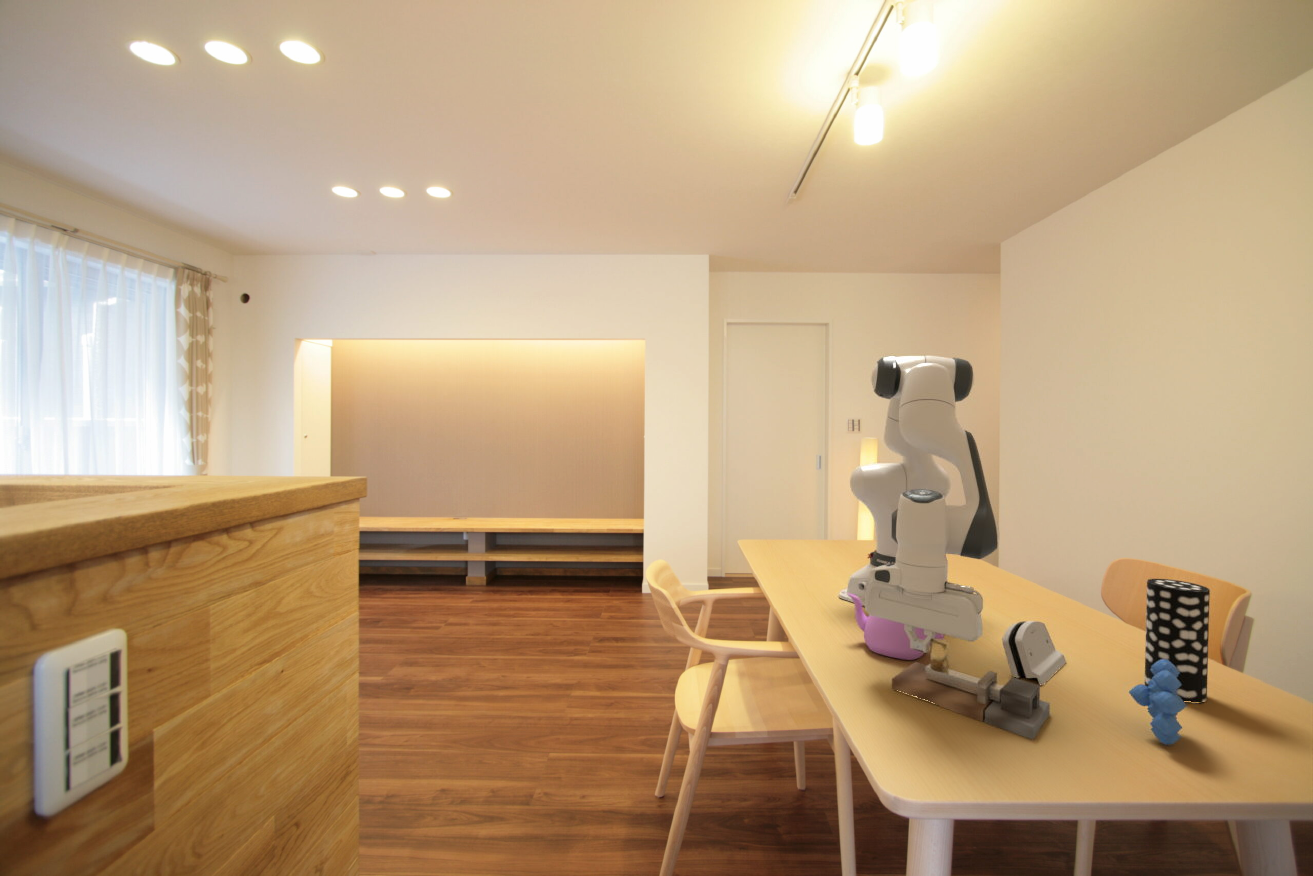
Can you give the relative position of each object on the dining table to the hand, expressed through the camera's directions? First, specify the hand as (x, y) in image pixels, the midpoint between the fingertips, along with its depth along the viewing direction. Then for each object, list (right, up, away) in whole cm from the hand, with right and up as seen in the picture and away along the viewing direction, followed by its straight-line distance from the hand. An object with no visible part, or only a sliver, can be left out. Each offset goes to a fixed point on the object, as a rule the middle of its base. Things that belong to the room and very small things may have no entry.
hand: (919, 650), depth 102 cm
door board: (+6, -7, -6) cm, 11 cm away
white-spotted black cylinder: (+46, -7, -2) cm, 47 cm away
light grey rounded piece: (+27, -7, +9) cm, 29 cm away
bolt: (+5, -5, -5) cm, 9 cm away
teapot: (+2, -7, +17) cm, 19 cm away
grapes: (+30, -8, -16) cm, 35 cm away
